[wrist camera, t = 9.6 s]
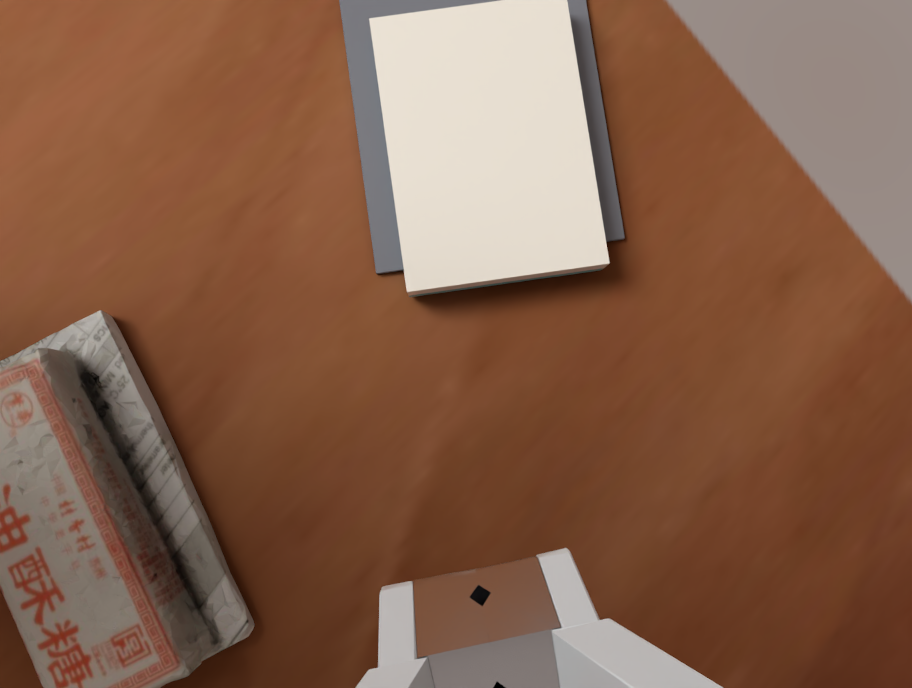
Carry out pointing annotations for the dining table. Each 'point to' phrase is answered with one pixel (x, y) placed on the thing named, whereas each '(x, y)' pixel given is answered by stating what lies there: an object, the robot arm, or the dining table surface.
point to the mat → (356, 10)
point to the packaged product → (104, 522)
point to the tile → (487, 145)
